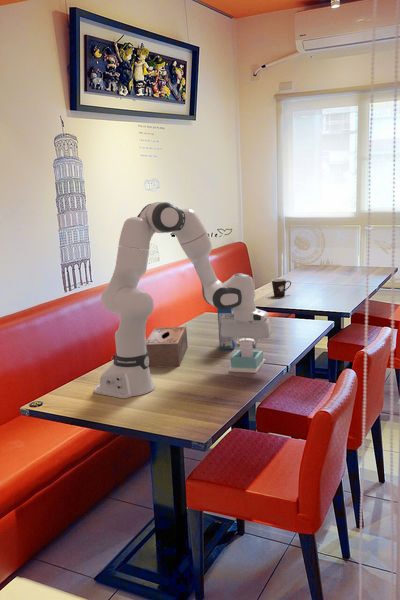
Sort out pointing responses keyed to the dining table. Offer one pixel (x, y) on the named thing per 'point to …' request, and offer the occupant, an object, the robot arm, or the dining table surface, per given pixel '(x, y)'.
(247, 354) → the smoothie
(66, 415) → the dining table surface
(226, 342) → the milk carton
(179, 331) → the tissue box cover
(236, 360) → the holder board
